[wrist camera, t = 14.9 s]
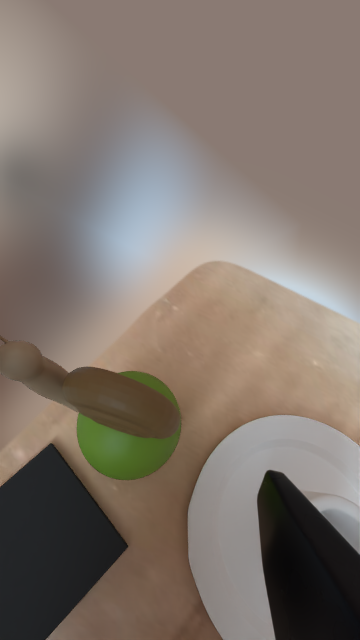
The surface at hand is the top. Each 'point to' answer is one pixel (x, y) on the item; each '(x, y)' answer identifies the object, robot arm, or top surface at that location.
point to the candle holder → (242, 514)
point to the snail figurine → (104, 410)
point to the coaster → (49, 546)
